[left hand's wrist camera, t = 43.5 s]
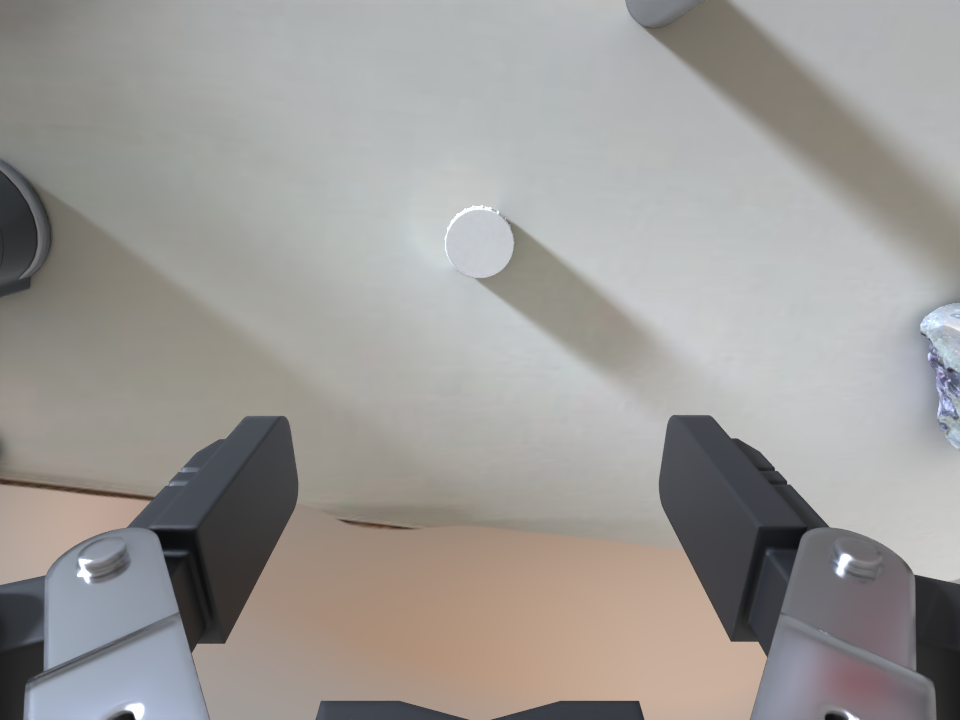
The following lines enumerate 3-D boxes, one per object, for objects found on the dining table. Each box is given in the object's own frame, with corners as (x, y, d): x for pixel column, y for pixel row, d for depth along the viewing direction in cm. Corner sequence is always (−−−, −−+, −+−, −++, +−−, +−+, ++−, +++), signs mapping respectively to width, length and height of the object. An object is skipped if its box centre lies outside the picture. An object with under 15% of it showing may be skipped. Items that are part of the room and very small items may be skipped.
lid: (450, 277, 39) (449, 283, 37) (441, 209, 37) (439, 212, 35) (516, 269, 39) (518, 275, 37) (509, 201, 37) (511, 203, 35)
